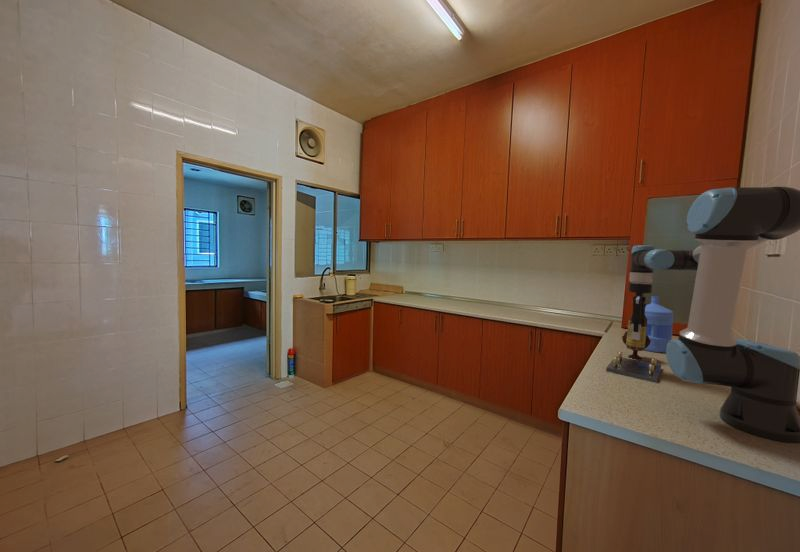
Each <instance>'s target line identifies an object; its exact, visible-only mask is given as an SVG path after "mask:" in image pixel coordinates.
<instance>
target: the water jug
mask: <svg viewBox="0 0 800 552" xmlns="http://www.w3.org/2000/svg"><path fill="white" fill-rule="evenodd" d="M650 297H651V299H650V303H649V304H646V307H645V316H646V318H647V336H648V337H649V340H651V342H650V344H649V346H648V347H647V348H645V349H644V350H643V351H646V350H647V351H646V352H651V351H652V353H658V352H663V353H662V354H666V348H667V344H668V343H669V341H670V340H673V339H672V337H673V324H674V318H675V316H674V311H672V310H671V309H669V308H666V307H665V306H663V305H660V303H659V302H660V296H657V295H656V296H655V295H654V296H653V295H651V296H650Z"/></svg>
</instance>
